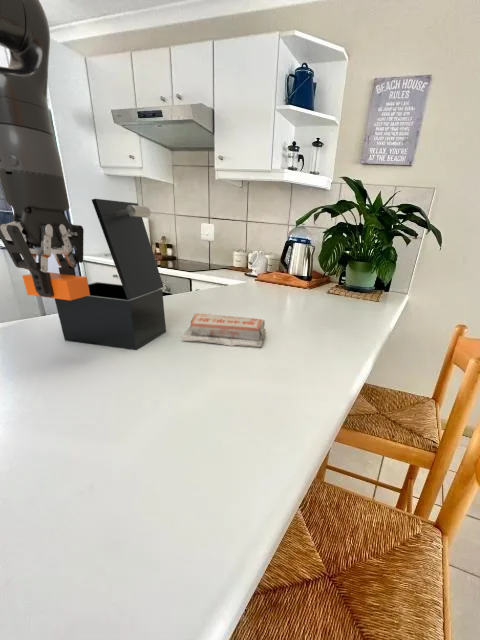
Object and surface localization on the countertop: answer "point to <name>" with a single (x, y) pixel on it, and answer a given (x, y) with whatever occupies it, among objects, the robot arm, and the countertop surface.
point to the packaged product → (225, 330)
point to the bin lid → (129, 245)
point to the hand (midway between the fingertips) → (59, 292)
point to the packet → (61, 286)
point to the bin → (112, 317)
